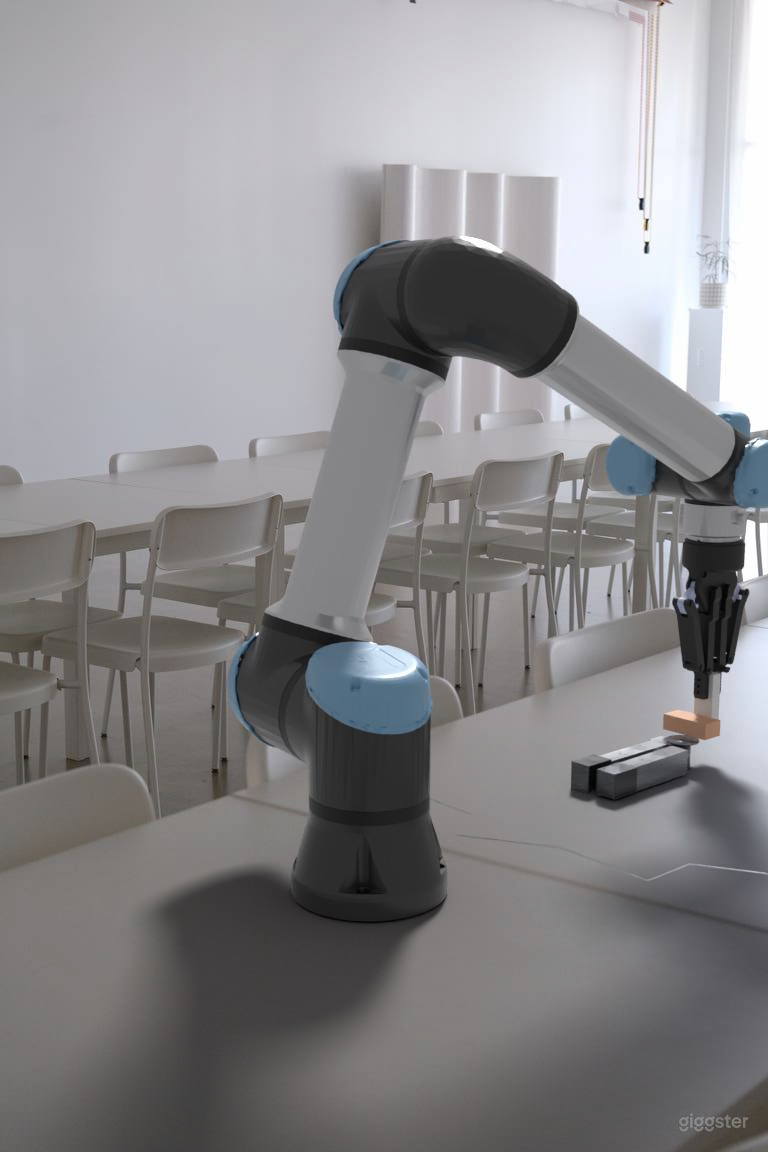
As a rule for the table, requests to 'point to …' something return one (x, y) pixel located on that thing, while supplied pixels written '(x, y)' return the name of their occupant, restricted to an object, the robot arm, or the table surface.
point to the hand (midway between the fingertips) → (705, 722)
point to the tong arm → (645, 769)
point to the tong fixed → (613, 762)
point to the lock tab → (691, 724)
